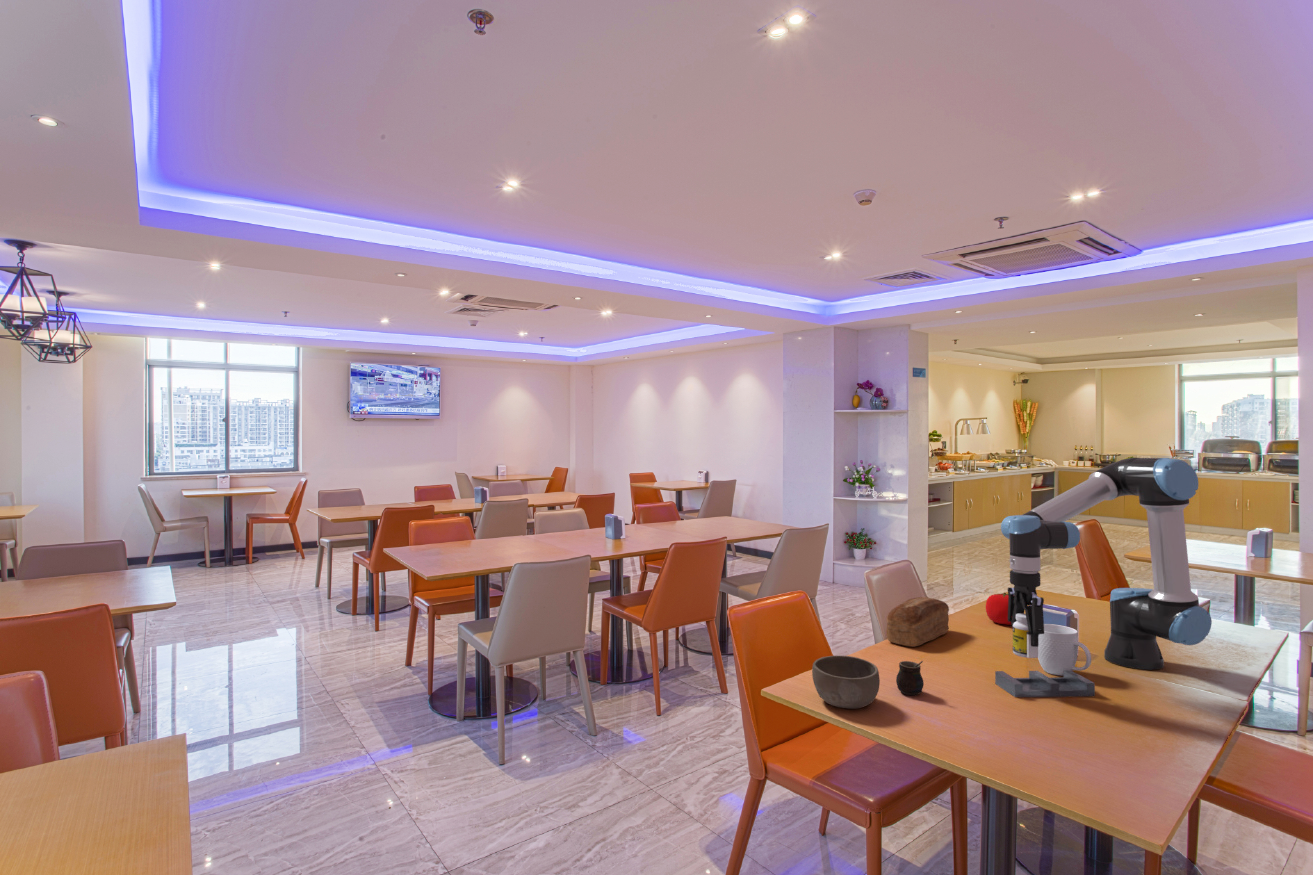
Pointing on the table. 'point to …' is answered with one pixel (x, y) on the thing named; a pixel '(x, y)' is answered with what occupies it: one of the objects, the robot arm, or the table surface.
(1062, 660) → the mug
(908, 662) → the mate gourd
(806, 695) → the table surface
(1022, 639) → the pill bottle
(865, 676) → the bowl
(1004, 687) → the gray divided tray
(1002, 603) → the tomato
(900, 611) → the bread
